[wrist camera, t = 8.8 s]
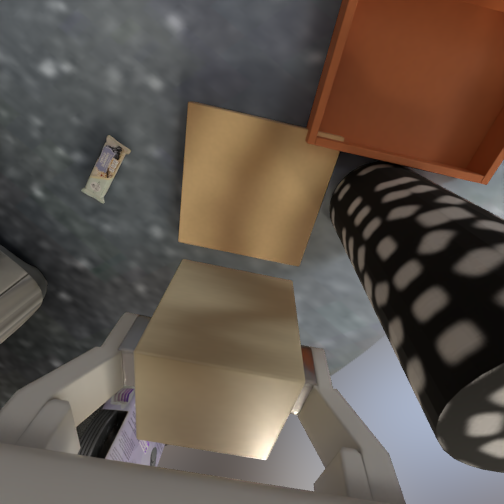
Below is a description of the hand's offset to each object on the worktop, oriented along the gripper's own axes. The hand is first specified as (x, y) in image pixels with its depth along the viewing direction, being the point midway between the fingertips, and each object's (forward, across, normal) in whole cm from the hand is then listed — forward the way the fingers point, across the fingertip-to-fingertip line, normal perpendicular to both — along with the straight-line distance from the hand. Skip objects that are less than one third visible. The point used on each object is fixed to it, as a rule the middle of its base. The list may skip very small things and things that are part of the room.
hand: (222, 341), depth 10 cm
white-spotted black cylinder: (+19, -12, -1) cm, 22 cm away
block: (+2, 0, 0) cm, 2 cm away
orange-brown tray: (+18, -11, -11) cm, 24 cm away
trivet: (+18, 0, 0) cm, 19 cm away
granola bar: (+19, +14, +1) cm, 23 cm away
